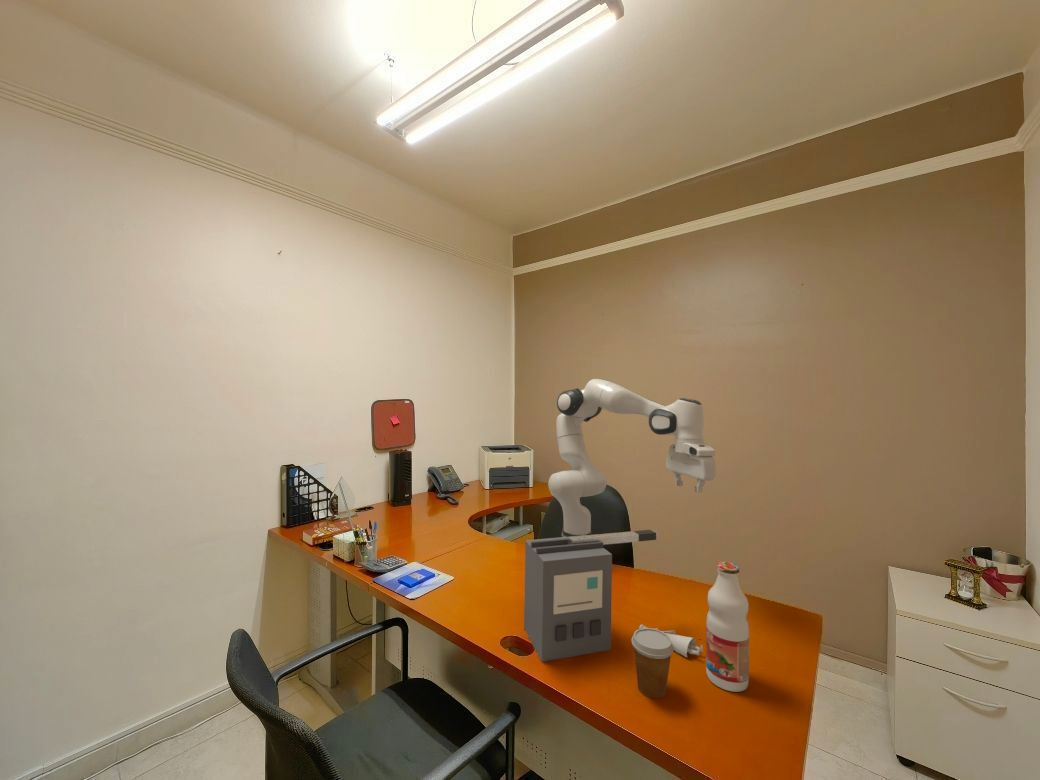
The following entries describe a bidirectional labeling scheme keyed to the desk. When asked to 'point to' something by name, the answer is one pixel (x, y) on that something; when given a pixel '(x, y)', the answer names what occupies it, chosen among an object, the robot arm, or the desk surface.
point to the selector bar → (615, 537)
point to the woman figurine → (682, 643)
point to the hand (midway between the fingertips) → (688, 488)
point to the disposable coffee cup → (652, 660)
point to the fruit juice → (727, 631)
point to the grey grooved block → (567, 597)
